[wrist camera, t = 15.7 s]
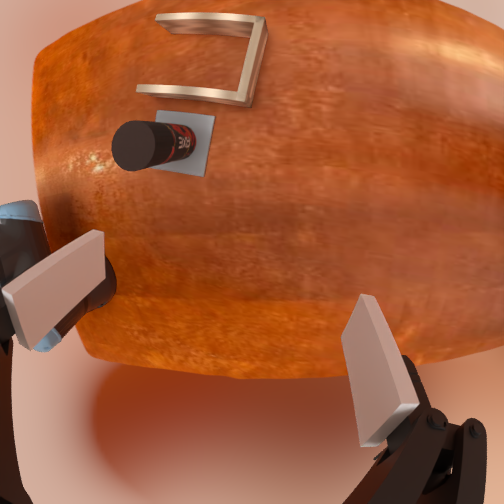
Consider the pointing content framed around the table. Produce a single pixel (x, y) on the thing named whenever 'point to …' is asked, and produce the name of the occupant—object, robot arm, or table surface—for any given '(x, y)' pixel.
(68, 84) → the table surface
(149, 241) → the table surface
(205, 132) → the mat
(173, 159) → the deodorant
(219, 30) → the bay
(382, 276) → the table surface
